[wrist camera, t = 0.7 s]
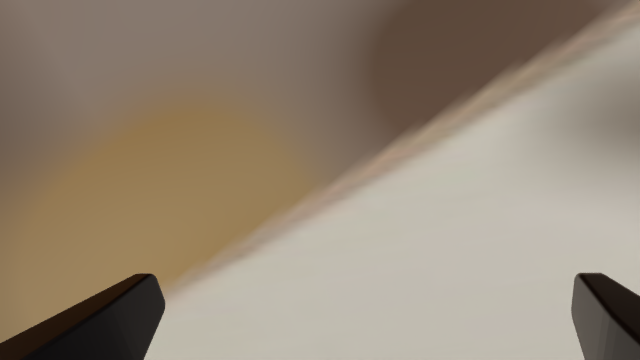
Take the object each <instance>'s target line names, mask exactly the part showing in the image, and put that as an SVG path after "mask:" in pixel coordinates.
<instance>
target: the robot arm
mask: <svg viewBox="0 0 640 360" xmlns="http://www.w3.org/2000/svg"><path fill="white" fill-rule="evenodd" d="M164 310H165V300H164V297H163V294H162V291H161V289H160V286H159V283H158V281H157V278H156V277H155V276H154V275H153V274H145V273H144V274H143V273H142V274H135V275H133V276H131V277H129V278H127V279H125V280H123V281H121V282H119V283H117V284H115V285H113V286H111V287H109V288H107V289H105V290H104V291H101V292H100V293H98V294H96V295H94V296H92V297H90V298H88V299H86V300H84V301H82V302H80V303H78V304H76V305H74V306H72V307H70V308H68V309H67V310H64V311H63V312H61V313H59V314H57V315H55V316H53V317H51V318H49V319H47V320H45V321H43V322H41V323H39V324H37V325H35V326H33V327H31V328H29V329H27V330H25V331H23V332H22V333H19V334H18V335H16V336H14V337H12V338H10V339H8V340H6V341H4V342H2V343H0V360H144V357H145V355H146V353H147V350H148V348H149V346H150V343H151V341H152V339H153V336H154V334H155V332H156V329H157V327H158V325H159V322H160V320H161V318H162V315H163V313H164ZM571 311H572V319H573V323H574V326H575V329H576V332H577V336H578V339H579V342H580V345H581V349H582V352H583V355H584V358H585V360H640V296H639V295H637V294H636V293H634V292H632V291H631V290H629V289H627V288H626V287H624V286H622V285H621V284H619V283H618V282H616V281H614V280H613V279H611V278H609V277H608V276H606V275H604V274H602V273H578V274H577V275H576V277H575V280H574V288H573V297H572V307H571Z"/></svg>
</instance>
